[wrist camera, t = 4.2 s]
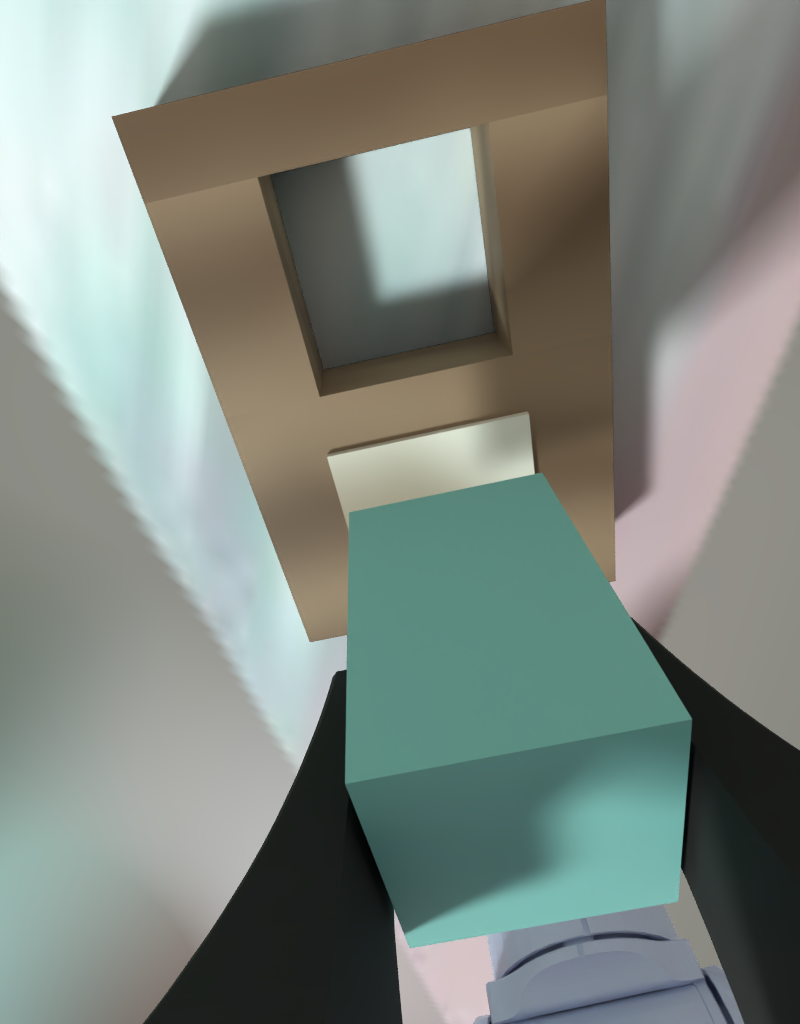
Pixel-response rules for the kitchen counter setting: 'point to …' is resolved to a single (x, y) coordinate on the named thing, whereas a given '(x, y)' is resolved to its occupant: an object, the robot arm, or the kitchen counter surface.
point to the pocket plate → (423, 372)
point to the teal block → (505, 719)
